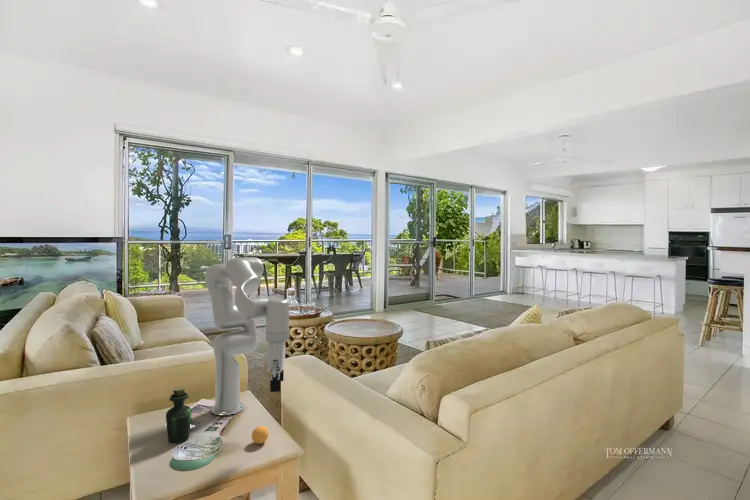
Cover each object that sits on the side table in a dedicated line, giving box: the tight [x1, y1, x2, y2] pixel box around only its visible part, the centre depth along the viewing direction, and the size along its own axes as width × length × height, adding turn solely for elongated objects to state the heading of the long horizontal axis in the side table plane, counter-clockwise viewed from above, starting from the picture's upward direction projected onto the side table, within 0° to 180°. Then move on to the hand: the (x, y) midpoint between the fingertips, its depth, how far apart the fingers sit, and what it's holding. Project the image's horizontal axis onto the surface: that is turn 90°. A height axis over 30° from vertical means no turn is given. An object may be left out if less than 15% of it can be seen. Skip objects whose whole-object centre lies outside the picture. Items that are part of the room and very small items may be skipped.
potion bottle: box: [165, 385, 193, 445], centre depth 136 cm, size 8×8×18 cm
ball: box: [251, 425, 269, 445], centre depth 135 cm, size 6×6×6 cm
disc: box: [169, 453, 216, 472], centre depth 125 cm, size 13×13×1 cm
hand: (277, 386), depth 133 cm, fingers open, 9 cm apart
